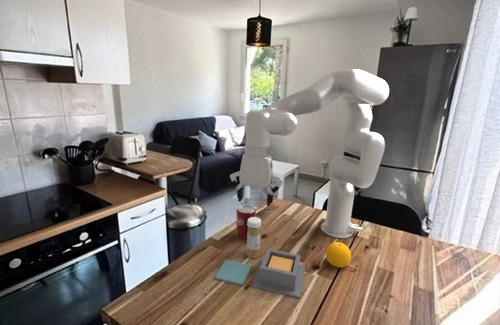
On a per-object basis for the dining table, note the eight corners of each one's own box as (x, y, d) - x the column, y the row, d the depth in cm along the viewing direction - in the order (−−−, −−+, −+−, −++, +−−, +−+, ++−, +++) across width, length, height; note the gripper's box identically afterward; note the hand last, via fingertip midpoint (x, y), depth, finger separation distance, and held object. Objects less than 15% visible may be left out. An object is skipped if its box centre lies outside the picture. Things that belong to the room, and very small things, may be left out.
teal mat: (251, 267, 86) (251, 265, 86) (242, 285, 78) (242, 283, 77) (225, 261, 88) (225, 259, 88) (214, 278, 80) (214, 276, 80)
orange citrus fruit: (350, 260, 91) (353, 241, 89) (348, 274, 84) (351, 253, 82) (326, 254, 94) (329, 235, 92) (322, 266, 87) (325, 246, 85)
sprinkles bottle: (255, 249, 95) (257, 215, 92) (261, 256, 91) (263, 221, 88) (244, 252, 93) (245, 217, 90) (249, 260, 89) (251, 224, 86)
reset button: (293, 264, 83) (293, 259, 83) (289, 278, 77) (290, 273, 77) (271, 259, 85) (272, 255, 85) (267, 273, 79) (267, 268, 78)
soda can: (255, 233, 106) (256, 205, 103) (253, 243, 99) (255, 213, 96) (237, 231, 107) (238, 204, 104) (234, 241, 100) (235, 212, 97)
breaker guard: (305, 267, 86) (306, 252, 85) (300, 298, 73) (301, 281, 72) (263, 258, 90) (264, 244, 89) (251, 286, 77) (252, 270, 76)
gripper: (286, 151, 84) (282, 202, 88) (235, 146, 88) (233, 194, 93) (282, 157, 77) (278, 211, 81) (226, 150, 81) (225, 202, 86)
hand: (254, 202), depth 87 cm, fingers open, 9 cm apart
